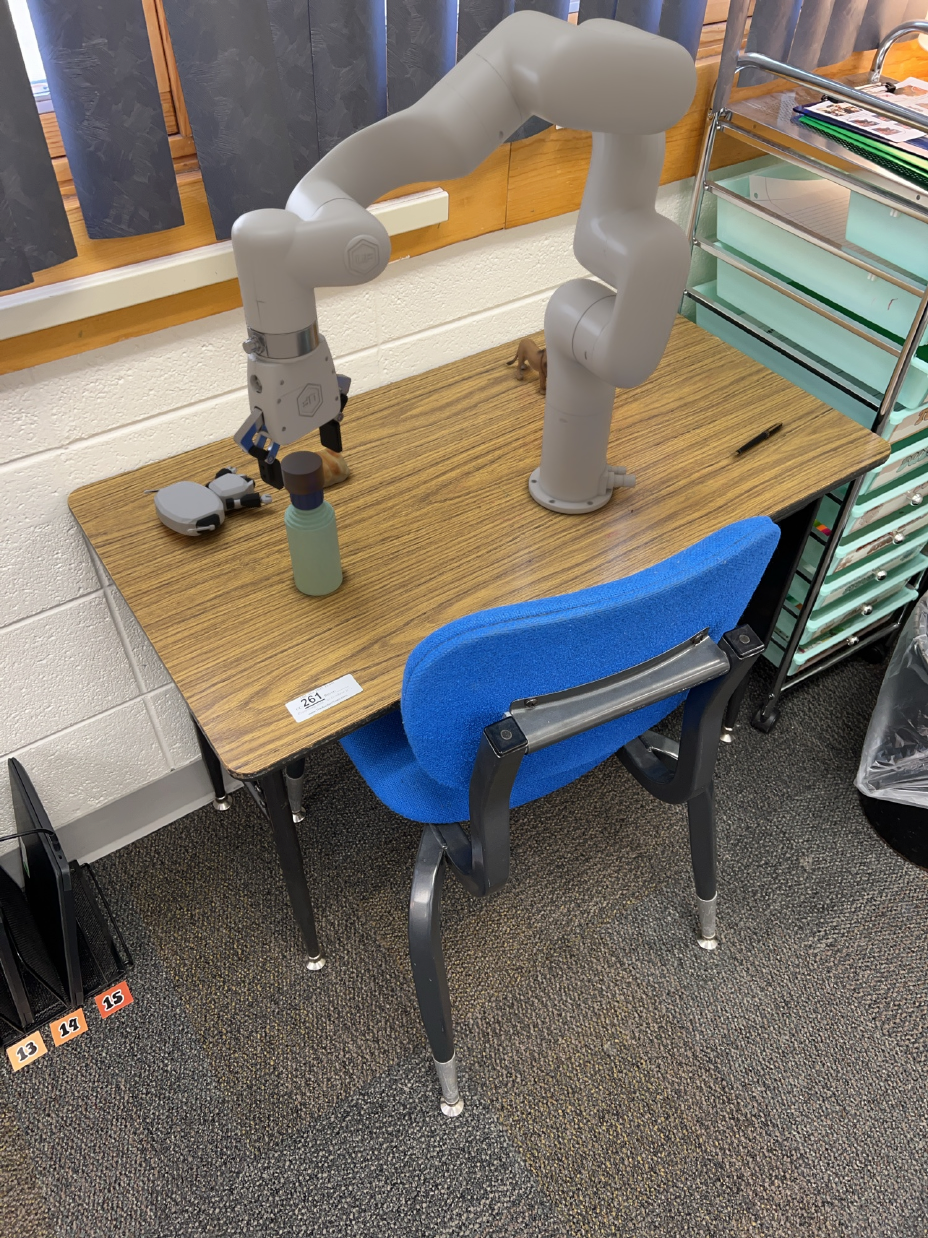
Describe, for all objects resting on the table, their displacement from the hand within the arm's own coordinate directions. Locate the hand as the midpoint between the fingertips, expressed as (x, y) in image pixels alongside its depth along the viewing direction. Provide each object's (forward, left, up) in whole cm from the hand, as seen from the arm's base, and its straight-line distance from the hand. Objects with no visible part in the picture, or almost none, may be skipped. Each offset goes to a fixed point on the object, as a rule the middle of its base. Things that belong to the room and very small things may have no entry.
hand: (303, 466), depth 110 cm
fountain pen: (-64, -38, -19) cm, 77 cm away
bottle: (0, 0, -18) cm, 18 cm away
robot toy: (+18, -13, -19) cm, 29 cm away
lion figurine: (-29, -54, -19) cm, 64 cm away
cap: (0, 0, -3) cm, 3 cm away
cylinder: (0, 0, -2) cm, 2 cm away
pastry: (+4, -23, -19) cm, 30 cm away
